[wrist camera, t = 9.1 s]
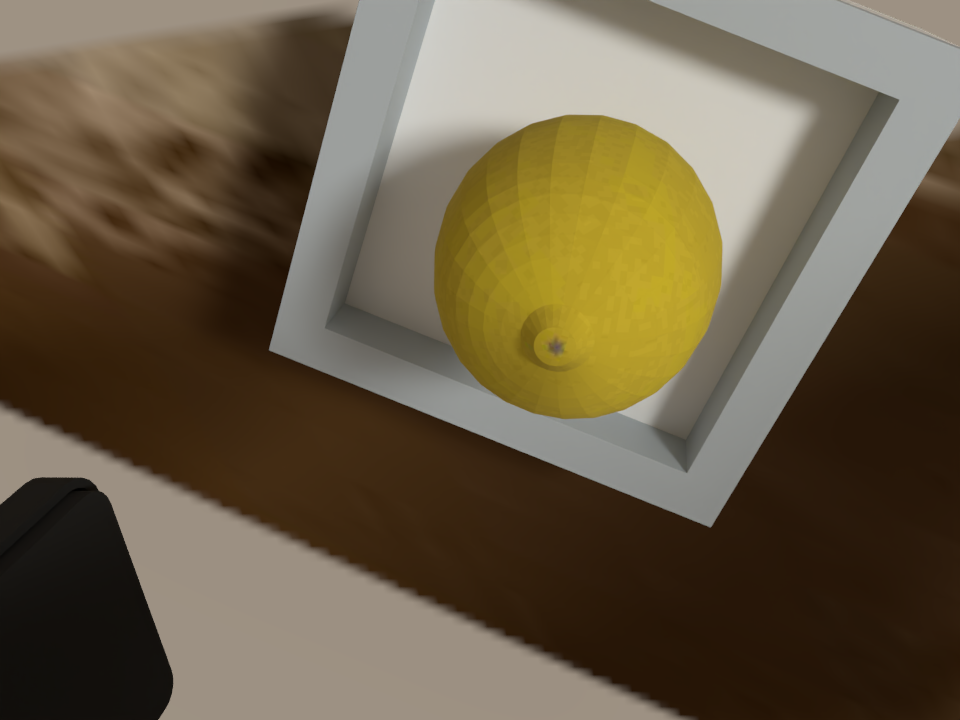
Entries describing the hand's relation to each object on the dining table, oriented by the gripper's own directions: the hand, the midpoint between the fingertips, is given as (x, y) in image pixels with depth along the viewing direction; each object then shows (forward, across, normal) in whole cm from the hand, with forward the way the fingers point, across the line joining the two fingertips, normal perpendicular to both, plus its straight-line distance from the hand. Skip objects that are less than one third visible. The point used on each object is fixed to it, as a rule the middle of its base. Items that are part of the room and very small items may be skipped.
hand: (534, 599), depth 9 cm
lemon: (+14, +1, 0) cm, 14 cm away
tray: (+18, +1, 0) cm, 18 cm away
